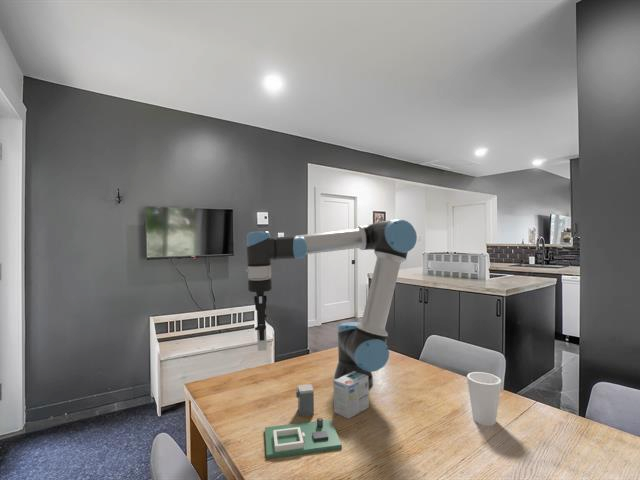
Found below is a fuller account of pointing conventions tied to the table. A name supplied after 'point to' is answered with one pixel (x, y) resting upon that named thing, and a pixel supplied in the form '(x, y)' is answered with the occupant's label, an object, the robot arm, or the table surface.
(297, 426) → the board
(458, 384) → the table surface
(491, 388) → the foam cup
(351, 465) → the table surface
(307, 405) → the block
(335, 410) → the light bulb box
